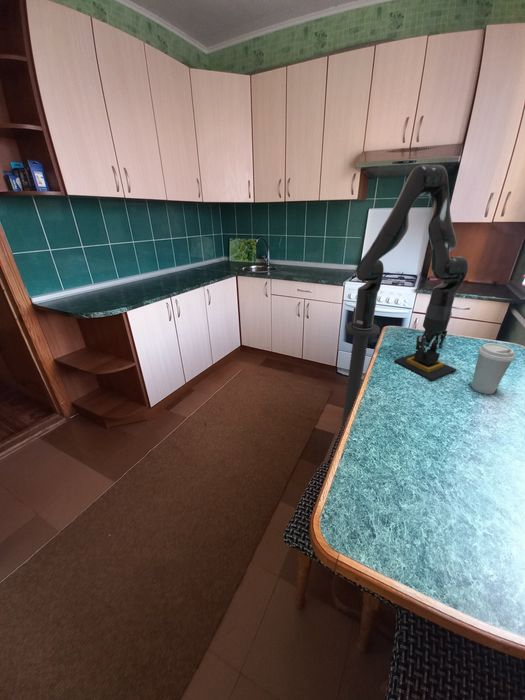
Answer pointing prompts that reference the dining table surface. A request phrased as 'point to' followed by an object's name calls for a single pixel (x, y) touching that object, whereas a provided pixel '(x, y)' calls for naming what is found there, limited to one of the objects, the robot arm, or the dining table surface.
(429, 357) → the black block
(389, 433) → the dining table surface
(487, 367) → the coffee cup
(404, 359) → the base pad
